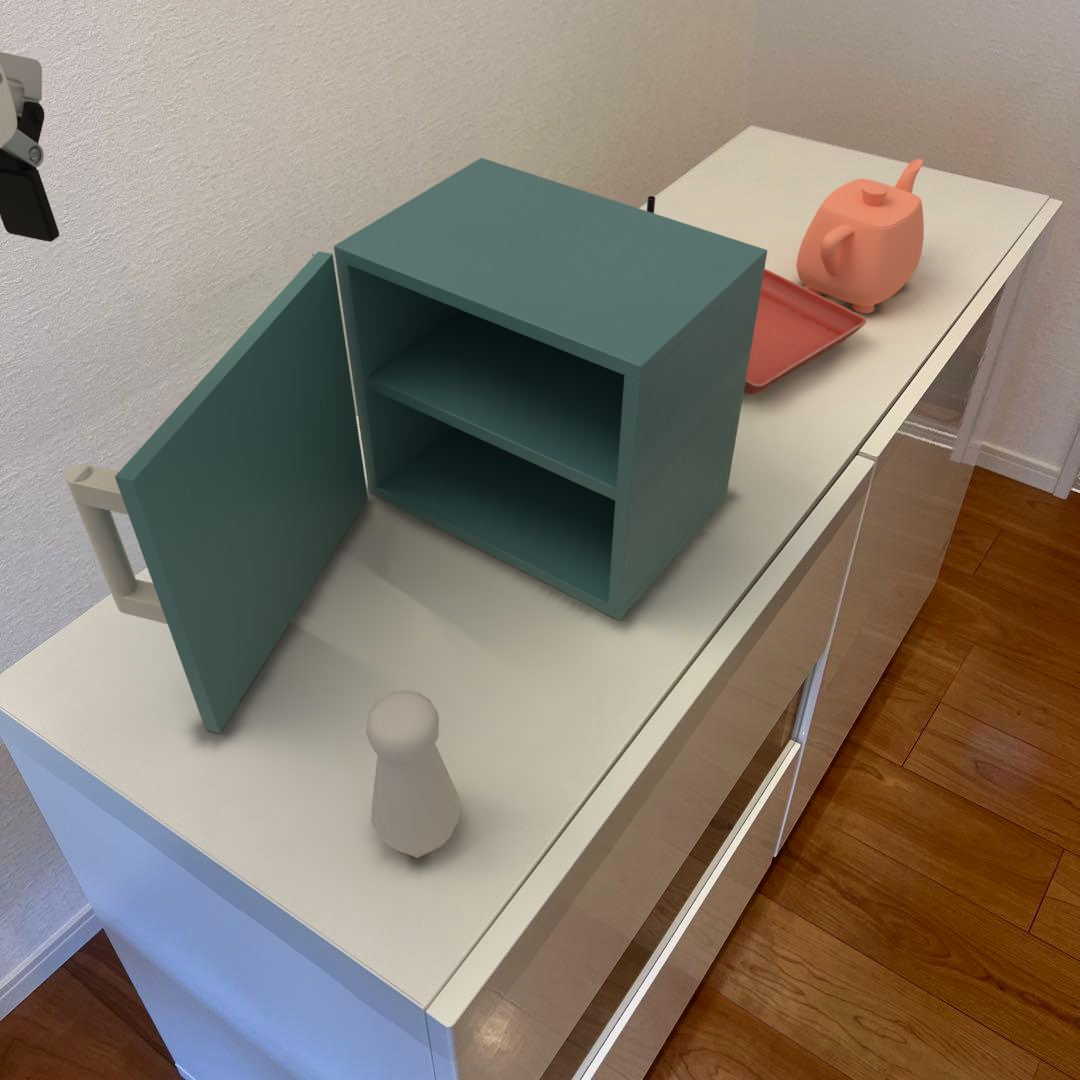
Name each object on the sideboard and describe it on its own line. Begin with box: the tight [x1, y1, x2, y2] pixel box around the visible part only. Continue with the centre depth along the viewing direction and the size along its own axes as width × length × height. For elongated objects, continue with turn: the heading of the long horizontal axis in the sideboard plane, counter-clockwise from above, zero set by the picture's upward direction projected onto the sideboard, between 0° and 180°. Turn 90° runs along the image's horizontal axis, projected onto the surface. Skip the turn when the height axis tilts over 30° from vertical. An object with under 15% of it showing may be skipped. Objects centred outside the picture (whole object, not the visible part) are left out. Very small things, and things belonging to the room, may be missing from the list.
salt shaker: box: [366, 689, 461, 859], centre depth 67 cm, size 6×6×13 cm
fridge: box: [333, 157, 768, 621], centre depth 88 cm, size 18×26×24 cm
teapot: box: [795, 158, 925, 314], centre depth 118 cm, size 20×12×12 cm, turn 140°
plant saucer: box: [744, 268, 867, 396], centre depth 112 cm, size 18×18×3 cm
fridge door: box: [64, 251, 369, 734], centre depth 79 cm, size 8×26×24 cm, turn 163°
